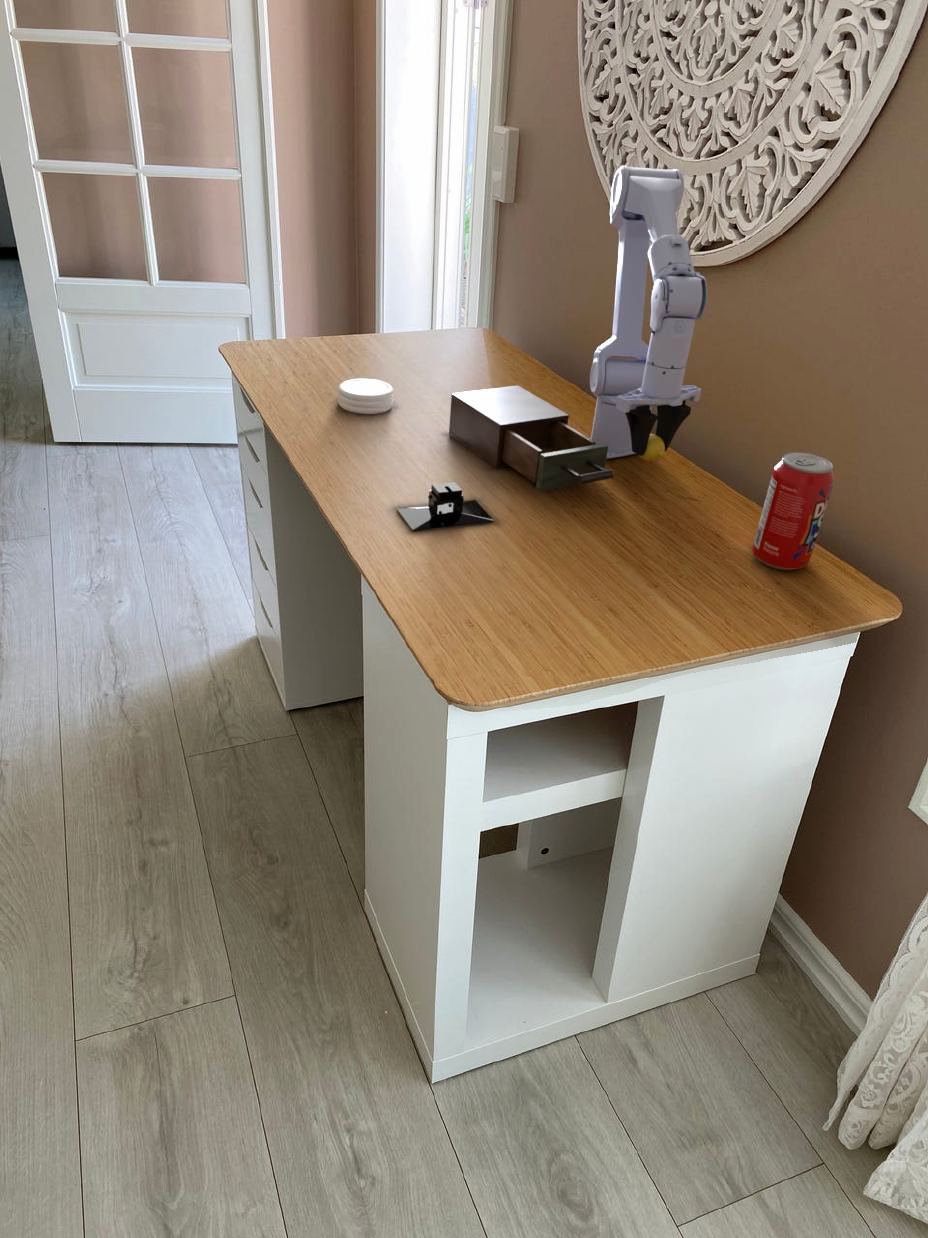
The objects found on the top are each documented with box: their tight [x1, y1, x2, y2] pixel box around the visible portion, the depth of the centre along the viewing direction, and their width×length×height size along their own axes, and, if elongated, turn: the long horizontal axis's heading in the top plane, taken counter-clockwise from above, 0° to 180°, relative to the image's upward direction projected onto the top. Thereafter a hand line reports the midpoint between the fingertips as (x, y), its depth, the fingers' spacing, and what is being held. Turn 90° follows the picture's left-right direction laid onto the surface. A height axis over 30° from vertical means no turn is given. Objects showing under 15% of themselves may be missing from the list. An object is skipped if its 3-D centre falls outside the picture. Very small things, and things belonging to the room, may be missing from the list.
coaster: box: [337, 378, 394, 415], centre depth 171 cm, size 10×10×4 cm
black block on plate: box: [396, 481, 494, 533], centre depth 135 cm, size 12×7×5 cm, turn 112°
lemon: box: [637, 432, 666, 463], centre depth 143 cm, size 6×4×4 cm
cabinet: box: [448, 384, 570, 469], centre depth 159 cm, size 15×13×7 cm
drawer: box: [500, 420, 615, 492], centre depth 148 cm, size 20×12×6 cm, turn 31°
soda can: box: [752, 451, 835, 571], centre depth 128 cm, size 8×8×15 cm
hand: (649, 451), depth 143 cm, fingers closed on lemon, 4 cm apart
